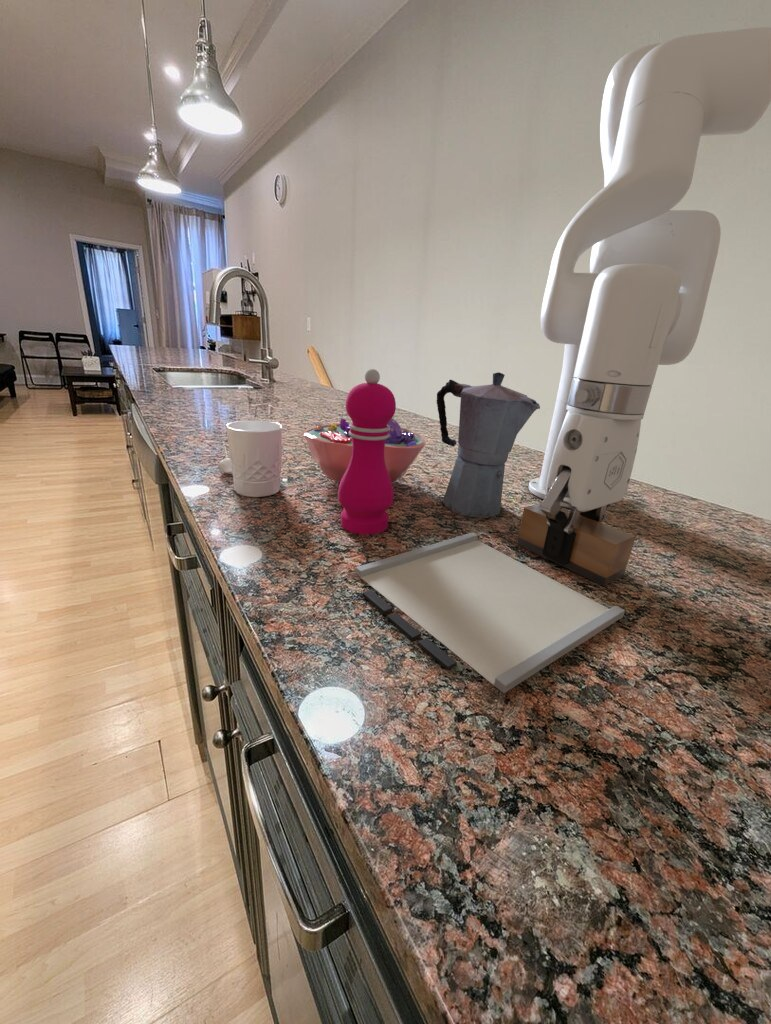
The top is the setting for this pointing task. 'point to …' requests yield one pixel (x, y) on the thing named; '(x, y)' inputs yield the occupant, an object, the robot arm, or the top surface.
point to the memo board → (488, 607)
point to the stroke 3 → (437, 653)
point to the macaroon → (225, 466)
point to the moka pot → (482, 443)
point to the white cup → (255, 456)
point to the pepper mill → (367, 458)
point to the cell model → (336, 448)
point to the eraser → (582, 545)
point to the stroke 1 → (377, 602)
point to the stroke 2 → (404, 626)
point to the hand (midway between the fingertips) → (568, 553)
